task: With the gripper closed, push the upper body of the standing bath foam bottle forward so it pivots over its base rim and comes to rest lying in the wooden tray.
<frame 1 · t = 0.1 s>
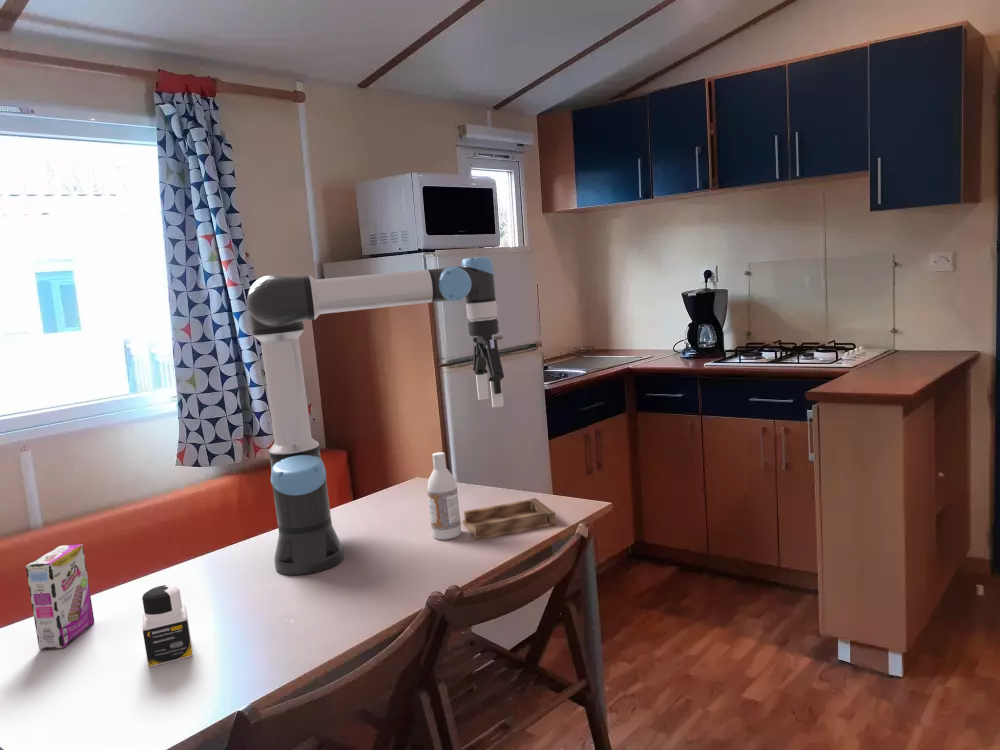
hand: (490, 402, 202), 28 cm above the table, tool pointing down, fingers open, 13 cm apart
wooden tray: (505, 524, 193), on the table
medicine bottle: (170, 655, 140), on the table
bath foam: (447, 536, 189), on the table
candy bar box: (69, 637, 152), on the table
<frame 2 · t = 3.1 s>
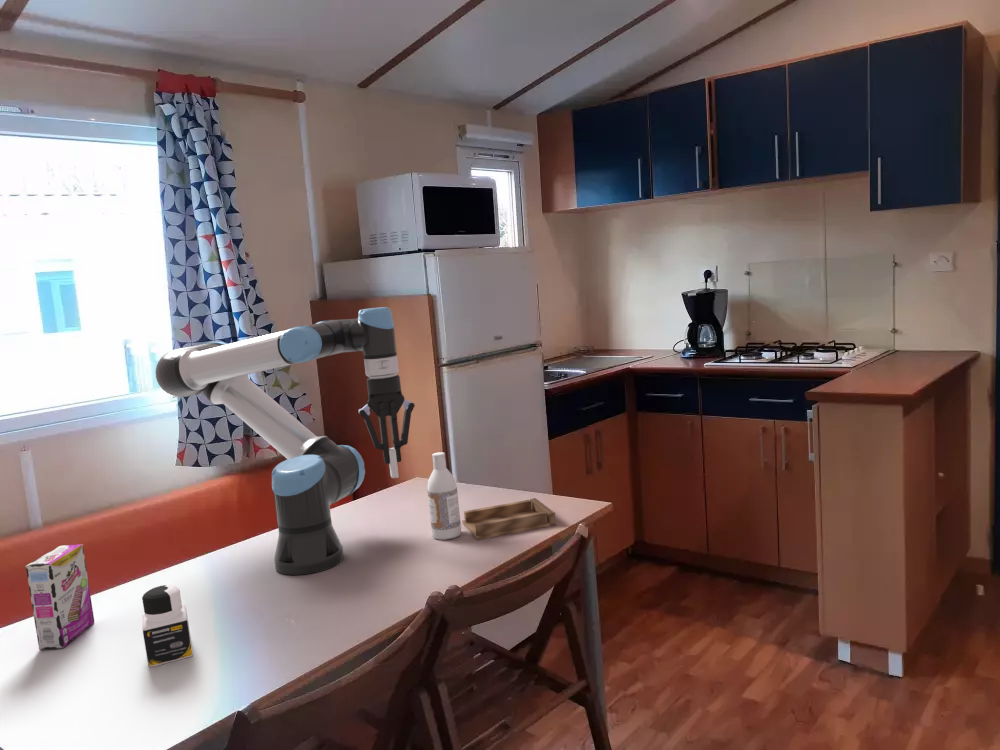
hand: (394, 476, 184), 16 cm above the table, tool pointing down, fingers closed
nothing on the table moved.
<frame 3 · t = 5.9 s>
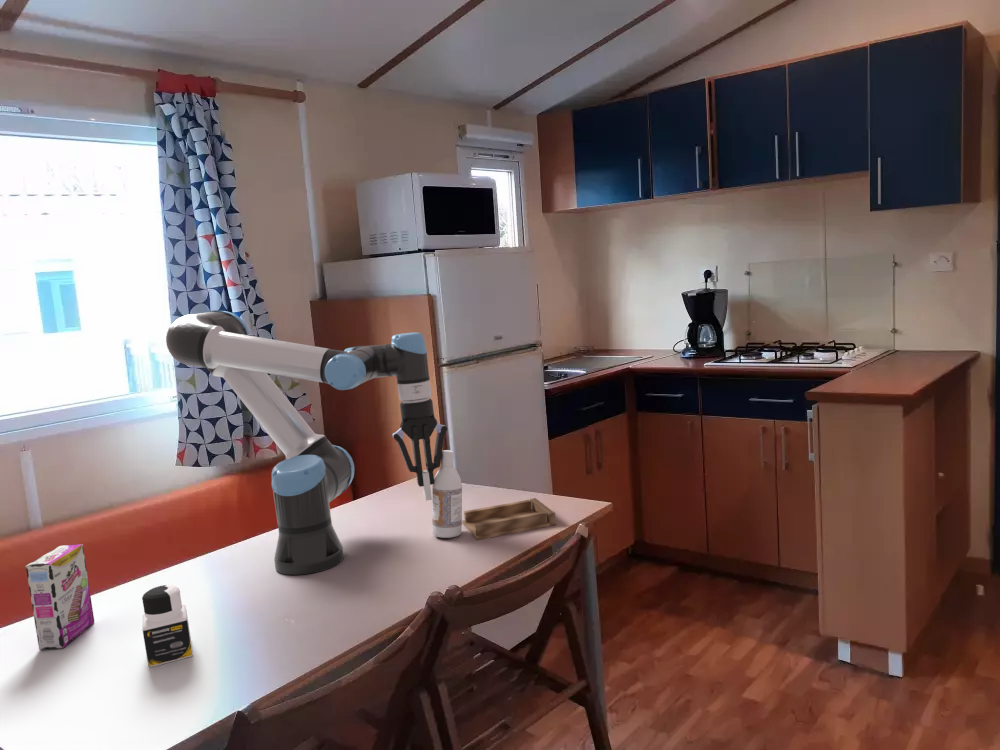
hand: (427, 498, 186), 10 cm above the table, tool pointing down, fingers closed
bath foam: (447, 534, 189), on the table, touching gripper
everything else where it was.
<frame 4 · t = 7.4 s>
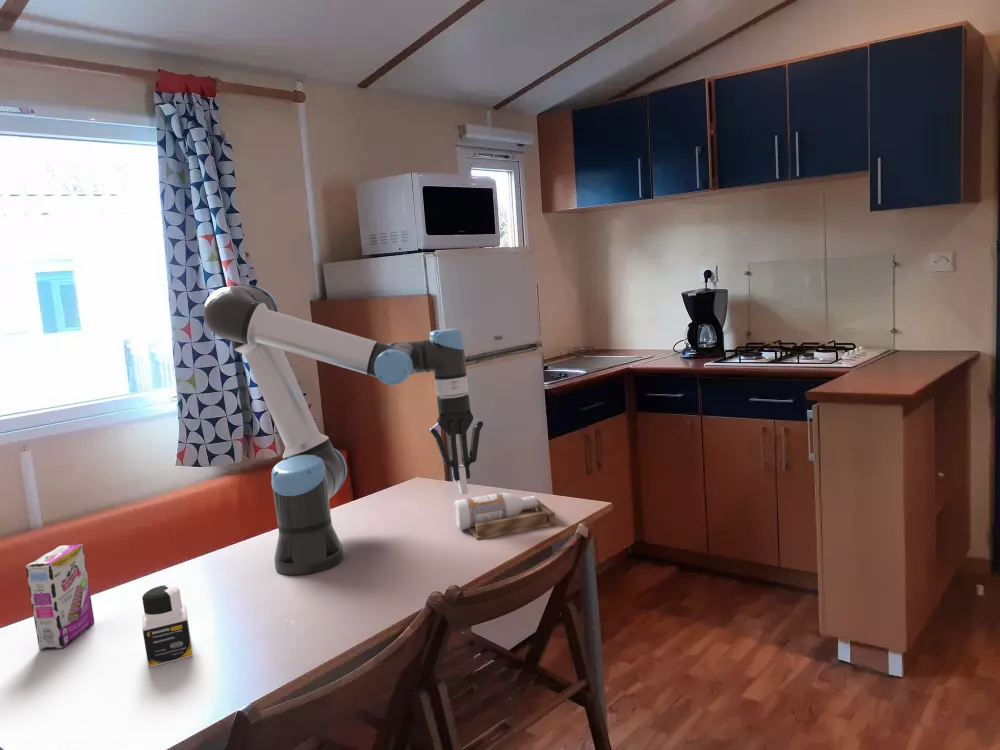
hand: (463, 492, 189), 10 cm above the table, tool pointing down, fingers closed
bath foam: (455, 515, 191), point 4 cm above the table, touching wooden tray
everything else where it was.
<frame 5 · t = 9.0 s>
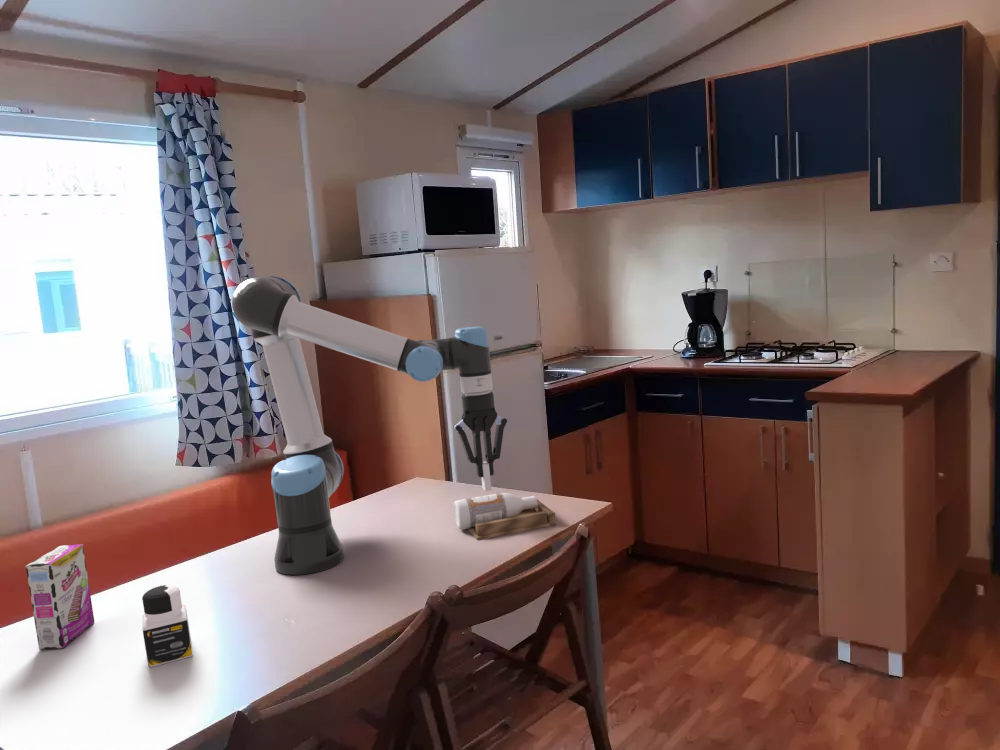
hand: (486, 489, 191), 9 cm above the table, tool pointing down, fingers closed
nothing on the table moved.
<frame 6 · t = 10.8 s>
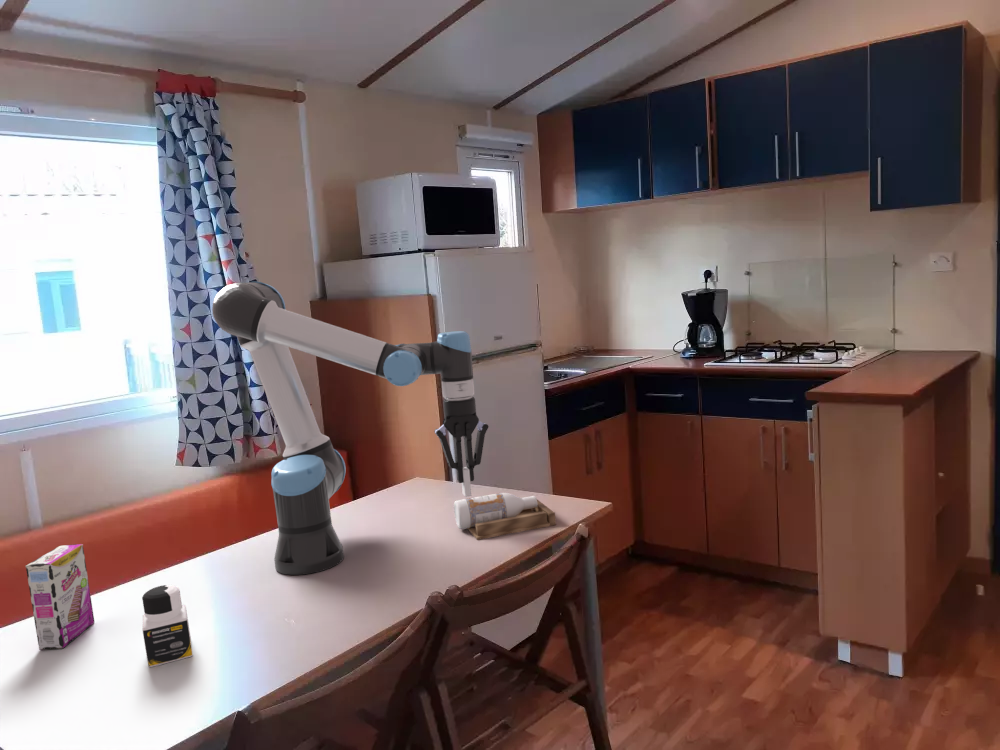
hand: (467, 494, 190), 9 cm above the table, tool pointing down, fingers closed
nothing on the table moved.
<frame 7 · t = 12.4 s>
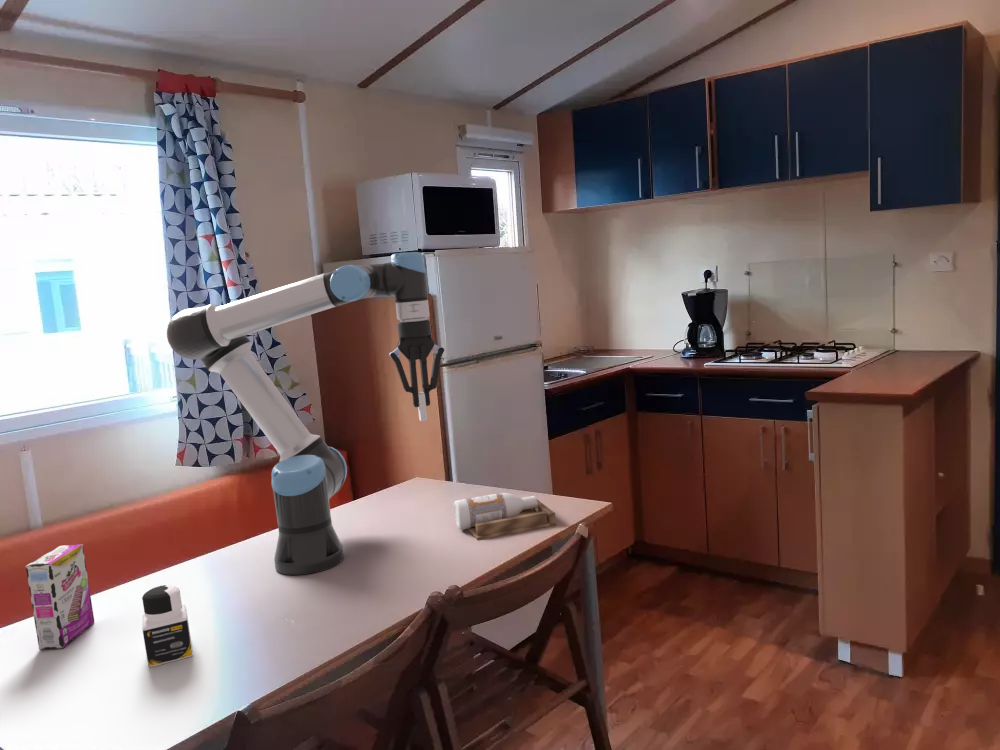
hand: (423, 419, 187), 28 cm above the table, tool pointing down, fingers closed
nothing on the table moved.
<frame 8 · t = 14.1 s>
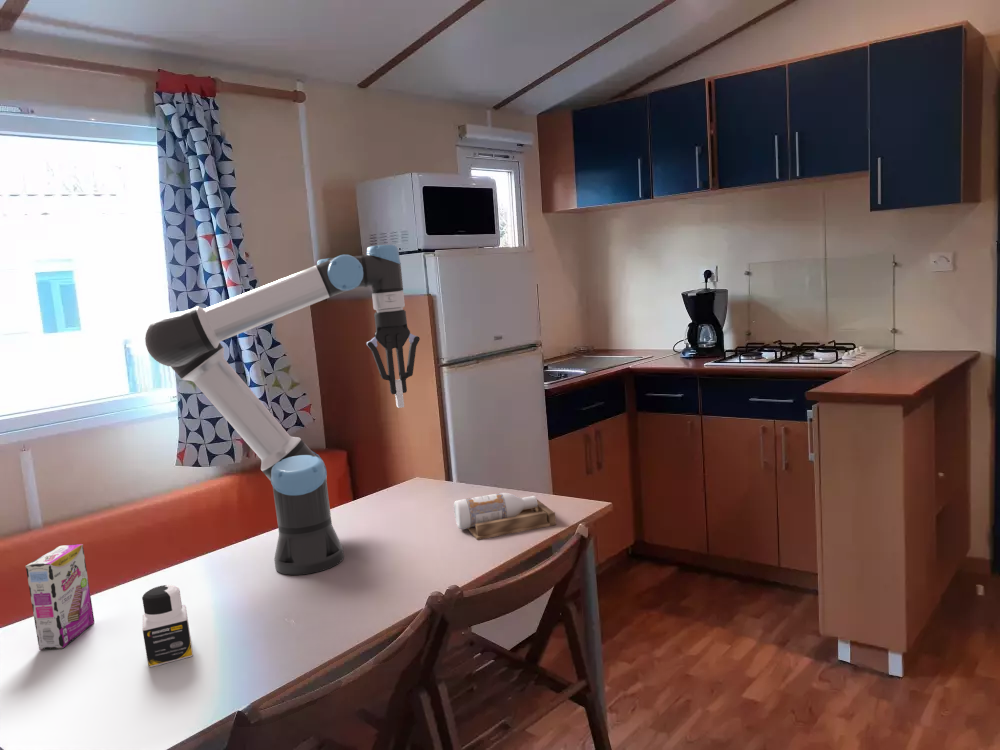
hand: (400, 406, 194), 30 cm above the table, tool pointing down, fingers closed
nothing on the table moved.
at the end: bath foam tilted 90°; bath foam inside the target area (11.2 cm from its centre), point 4.0 cm above the table; the gripper is holding nothing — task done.
